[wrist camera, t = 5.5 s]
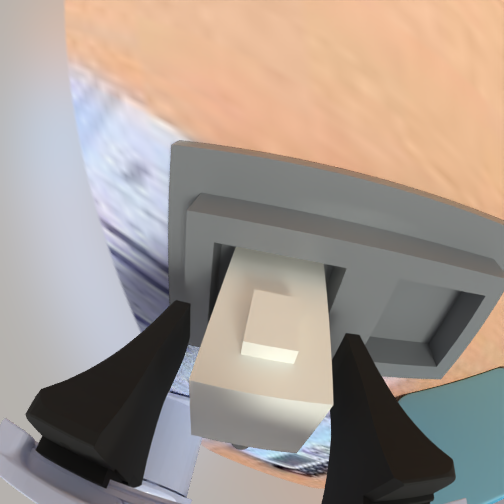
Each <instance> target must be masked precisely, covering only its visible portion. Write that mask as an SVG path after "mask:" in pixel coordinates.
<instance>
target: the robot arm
mask: <svg viewBox="0 0 504 504" xmlns="http://www.w3.org/2000/svg"><path fill="white" fill-rule="evenodd" d="M190 306H191V303H187V302H183V301H178V300H176V301H174V302H173V303H172V304H171V305H170V306H169V307H168V308H167V309H166V310H165V311H164V312H163V313H162V314H161V315H160V316H159V317H158V318H157V319H156V320H155V321H154V322H153V323H152V324H151V325H149V326H148V327H147V328H146V329H145V330H144V331H143V332H142V333H140V334H139V335H138V336H137V337H136V338H134V339H133V340H132V341H131V342H130V343H128V344H127V345H126V346H124V347H123V348H122V349H120V350H119V351H118V352H116V353H115V354H113V355H112V356H110V357H109V358H107V359H106V360H104V361H102V362H101V363H99V364H97V365H96V366H94V367H92V368H90V369H89V370H87V371H85V372H82V373H80V374H78V375H76V376H74V377H72V378H70V379H68V380H65V381H63V382H60V383H57V384H54V385H52V386H49V387H46V388H43V389H41V390H40V391H39V393H38V394H37V395H36V397H35V399H34V400H33V402H32V404H31V406H30V407H29V409H28V411H27V413H26V417H27V419H28V421H29V422H30V423H31V424H32V425H33V426H34V427H35V428H36V430H37V431H38V432H40V434H41V435H42V438H41V440H40V442H39V443H38V442H36V441H35V440H34V439H33V437H31V436H30V435H29V434H28V433H27V432H25V431H24V430H23V429H21V428H20V427H18V426H17V425H15V424H14V423H12V422H11V421H10V420H8V419H7V418H4V419H3V421H2V422H1V424H0V477H1V478H2V479H4V480H5V481H6V482H7V483H9V484H10V485H11V486H13V487H14V488H15V489H17V490H18V491H19V492H21V493H22V494H23V495H25V496H26V497H27V498H29V499H30V500H32V501H33V502H35V503H36V504H191V502H192V500H191V499H188V498H187V494H188V490H189V486H190V482H191V479H192V474H193V471H194V467H195V463H196V460H197V456H198V452H199V448H200V445H201V441H202V438H203V437H199V436H195V435H191V421H190V398H188V397H184V396H180V395H177V394H173V393H170V392H169V390H170V388H171V385H172V383H173V381H174V379H175V377H176V374H177V372H178V370H179V368H180V365H181V363H182V361H183V358H184V355H185V352H186V349H187V346H188V343H189V339H190ZM332 379H333V406H332V408H331V409H330V416H331V445H330V456H329V464H328V472H327V478H326V484H325V490H324V495H323V500H322V504H430V502H432V501H433V500H434V493H435V492H437V491H439V490H441V489H443V488H445V487H447V486H448V485H450V484H452V483H453V482H454V481H455V479H456V474H455V468H454V462H453V459H452V458H451V457H449V456H448V455H447V454H446V453H444V452H443V451H442V450H441V449H440V448H438V447H437V446H436V445H435V444H434V443H433V442H432V441H431V440H430V439H429V438H428V437H427V436H426V435H425V434H424V433H423V432H422V431H421V430H420V429H419V428H418V427H417V426H416V425H415V423H414V422H413V421H412V420H411V419H410V417H409V416H408V415H407V414H406V412H405V411H404V410H403V408H402V407H401V406H400V404H399V403H398V402H397V400H396V399H395V397H394V396H393V394H392V393H391V391H390V389H389V388H388V386H387V385H386V383H385V381H384V379H383V378H382V376H381V374H380V372H379V371H378V369H377V367H376V365H375V363H374V361H373V359H372V358H371V356H370V354H369V352H368V350H367V348H366V346H365V344H364V342H363V340H362V339H361V337H360V335H358V334H351V333H345V335H344V337H343V339H342V341H341V343H340V345H339V347H338V349H337V351H336V353H335V355H334V357H333V359H332ZM445 504H467V500H466V498H463V499H459V500H455V501H452V502H448V503H445Z"/></svg>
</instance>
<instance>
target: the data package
mask: <svg viewBox="0 0 504 504" xmlns="http://www.w3.org/2000/svg"><path fill="white" fill-rule="evenodd" d="M398 403H399V404H400V406H401V407H402V408H403V410H404V411H405V412H406V414H407V415H408V416H409V417H410V419H411V420H412V421H413V422H414V423H415V425H416V426H417V427H418V428H419V429H420V430H421V431H422V432H423V433H424V434H425V435H426V436H427V437H428V438H429V439H430V440H431V441H432V442H433V443H434V444H435V445H436V446H437V447H438V448H440V449H441V450H442V451H443V452H444V453H446V454H447V455H448V456H449V457H451V458H452V459H453V462H454V468H455V474H456V479H455V481H454V482H453V483H452V484H450V485H448V486H447V487H445V488H443V489H441V490H439V491H437V492H435V493H434V500H433V501H432V502H430V504H445V503H448V502H452V501H455V500H459V499H463V498H466V500H467V504H493V503H495V502H498V501H500V500H502V499H504V368H496V369H493V370H491V371H488V372H485V373H482V374H479V375H476V376H473V377H470V378H467V379H463V380H460V381H457V382H453V383H450V384H446V385H442V386H439V387H435V388H431V389H427V390H423V391H419V392H414V393H410V394H407V395H405V396H403V397H402V398H401V399H400V400H399V401H398Z"/></svg>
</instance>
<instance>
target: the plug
mask: <svg viewBox="0 0 504 504" xmlns="http://www.w3.org/2000/svg"><path fill="white" fill-rule="evenodd" d="M189 397H190V421H191V435H195V436H199V437H203V438H207V439H212V440H216V441H221V442H226V443H231V444H232V445H233V447H235V448H236V449H239V450H243V449H246V448H248V447H253V448H259V449H266V450H273V451H281V452H290V453H297V452H298V451H299V449H300V448H301V447H302V446H303V445H304V443H305V442H306V441H307V439H308V438H309V437H310V436H311V434H312V433H313V432H314V431H315V429H316V428H317V427H318V425H319V424H320V423H321V421H322V420H323V419H324V417H325V416H326V414H327V413H328V412H329V410H330V409H331V408H332V406H333V379H332V358H331V342H330V327H329V314H328V302H327V291H326V281H325V271H324V264H322V263H317V262H312V261H307V260H302V259H297V258H292V257H287V256H282V255H277V254H272V253H266V252H261V251H256V250H251V249H246V248H241V247H236V248H235V250H234V253H233V256H232V259H231V262H230V264H229V267H228V270H227V273H226V275H225V278H224V281H223V284H222V287H221V289H220V292H219V295H218V298H217V301H216V304H215V306H214V309H213V312H212V315H211V318H210V321H209V323H208V326H207V329H206V332H205V335H204V338H203V341H202V343H201V346H200V349H199V352H198V355H197V358H196V361H195V364H194V367H193V370H192V372H191V375H190V378H189Z"/></svg>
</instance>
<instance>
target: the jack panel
mask: <svg viewBox="0 0 504 504" xmlns="http://www.w3.org/2000/svg"><path fill="white" fill-rule="evenodd" d="M236 247H241V248H246V249H251V250H256V251H261V252H266V253H272V254H277V255H282V256H287V257H292V258H297V259H302V260H307V261H312V262H317V263H322V264H324V271H325V281H326V291H327V302H328V314H329V327H330V342H331V358H332V359H333V357H334V355H335V353H336V351H337V349H338V347H339V345H340V343H341V341H342V339H343V337H344V335H345V333H351V334H358V335H360V337H361V339H362V340H363V342H364V344H365V346H366V348H367V350H368V352H369V354H370V356H371V358H372V359H373V361H374V363H375V365H376V367H377V369H378V371H379V372H380V374H381V376H385V377H399V378H418V379H441V378H442V377H443V376H444V375H445V374H446V373H447V371H448V370H449V369H450V368H451V367H452V365H453V364H454V363H455V362H456V360H457V359H458V358H459V357H460V355H461V354H462V353H463V351H464V350H465V349H466V347H467V346H468V345H469V343H470V342H471V341H472V339H473V338H474V336H475V335H476V334H477V332H478V331H479V329H480V328H481V327H482V325H483V324H484V322H485V321H486V319H487V318H488V316H489V315H490V313H491V311H492V310H493V308H494V307H495V305H496V304H497V302H498V300H499V299H500V297H501V295H502V294H503V292H504V220H501V219H499V218H496V217H494V216H491V215H489V214H486V213H484V212H481V211H478V210H476V209H473V208H470V207H468V206H465V205H462V204H460V203H457V202H454V201H451V200H448V199H445V198H442V197H439V196H436V195H433V194H430V193H427V192H424V191H421V190H418V189H414V188H411V187H408V186H405V185H401V184H398V183H394V182H391V181H387V180H384V179H380V178H377V177H373V176H369V175H365V174H362V173H358V172H354V171H350V170H346V169H342V168H337V167H333V166H329V165H324V164H320V163H315V162H311V161H306V160H301V159H296V158H291V157H286V156H281V155H276V154H270V153H265V152H259V151H253V150H247V149H241V148H235V147H228V146H221V145H214V144H206V143H198V142H190V141H181V140H179V141H177V142H175V143H174V144H172V145H171V162H170V183H169V222H168V263H169V301H170V305H171V304H172V303H173V302H174V301H176V300H178V301H183V302H187V303H191V306H190V339H189V343H188V345H192V346H196V347H200V346H201V343H202V341H203V338H204V335H205V332H206V329H207V326H208V323H209V321H210V318H211V315H212V312H213V309H214V306H215V304H216V301H217V298H218V295H219V292H220V289H221V287H222V284H223V281H224V278H225V275H226V273H227V270H228V267H229V264H230V262H231V259H232V256H233V253H234V250H235V248H236Z"/></svg>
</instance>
